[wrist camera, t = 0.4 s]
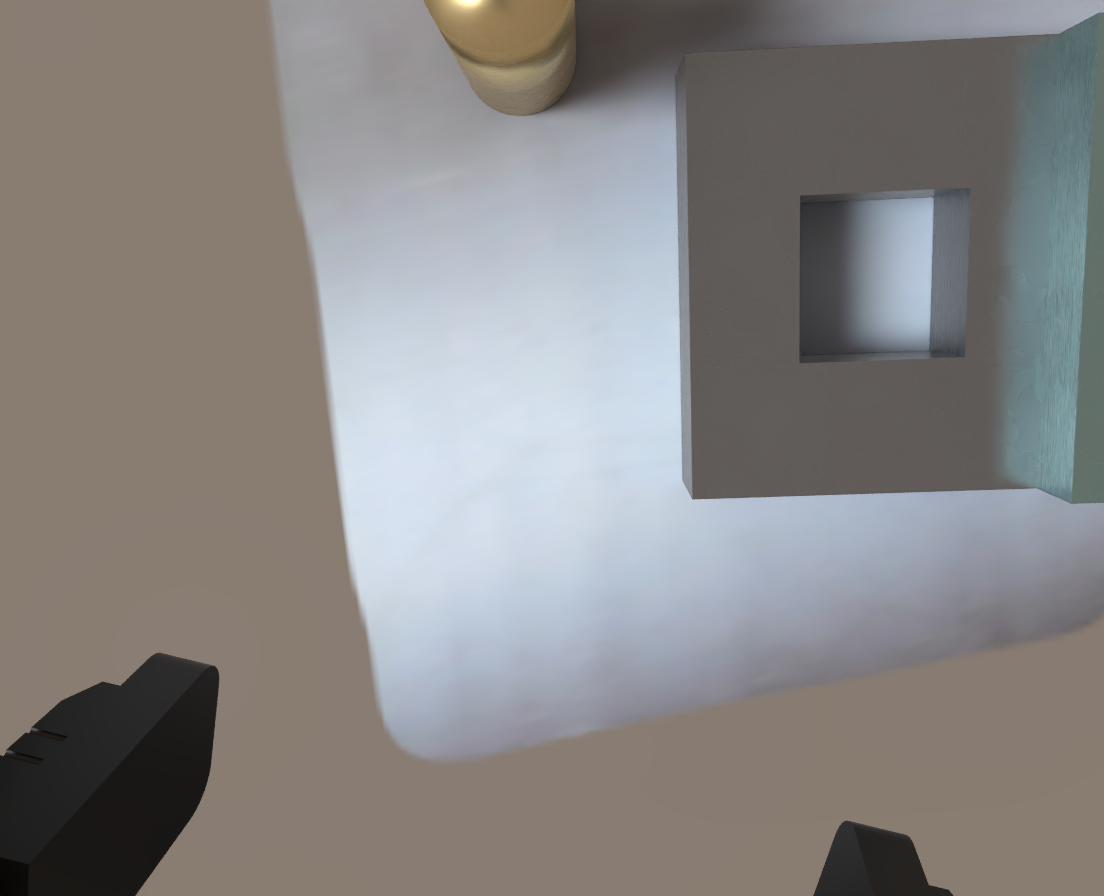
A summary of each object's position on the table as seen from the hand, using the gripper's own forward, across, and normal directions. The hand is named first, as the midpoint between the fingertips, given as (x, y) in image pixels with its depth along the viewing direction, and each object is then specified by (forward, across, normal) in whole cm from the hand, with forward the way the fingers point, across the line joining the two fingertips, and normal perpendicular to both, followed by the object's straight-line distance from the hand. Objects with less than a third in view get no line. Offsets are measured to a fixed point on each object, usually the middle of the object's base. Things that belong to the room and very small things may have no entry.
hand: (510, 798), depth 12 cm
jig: (+29, -9, -5) cm, 30 cm away
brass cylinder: (+29, +6, -11) cm, 31 cm away
